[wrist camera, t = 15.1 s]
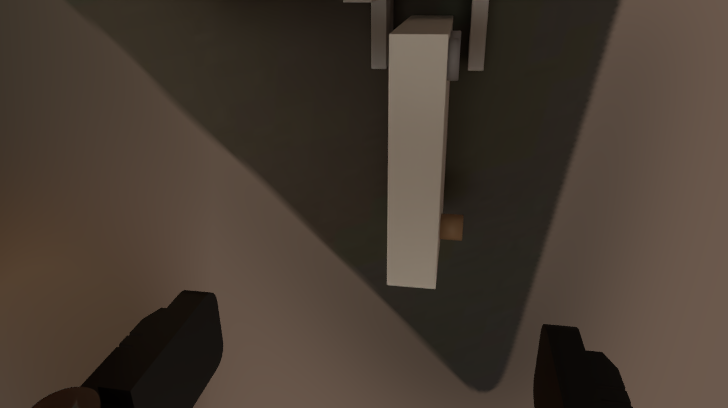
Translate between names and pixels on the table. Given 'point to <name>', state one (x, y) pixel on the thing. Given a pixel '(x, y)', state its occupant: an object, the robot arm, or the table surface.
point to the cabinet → (384, 26)
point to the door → (419, 147)
